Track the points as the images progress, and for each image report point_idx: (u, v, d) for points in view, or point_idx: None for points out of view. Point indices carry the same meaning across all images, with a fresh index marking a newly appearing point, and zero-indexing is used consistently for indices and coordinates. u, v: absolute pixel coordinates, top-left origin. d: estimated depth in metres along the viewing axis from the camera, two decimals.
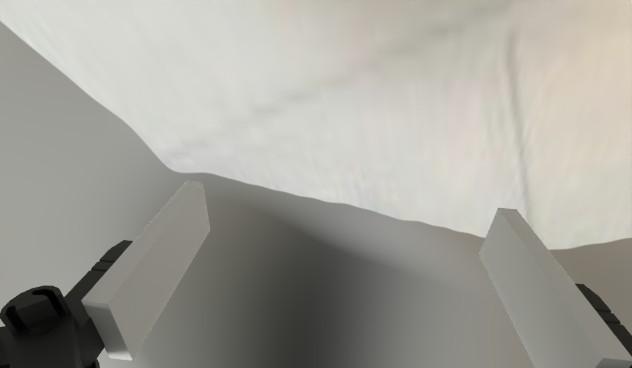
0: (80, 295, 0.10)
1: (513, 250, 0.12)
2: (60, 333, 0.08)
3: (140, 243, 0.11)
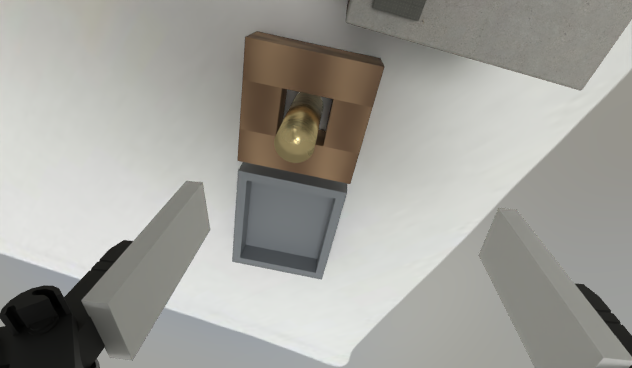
0: (80, 295, 0.10)
1: (513, 251, 0.12)
2: (60, 333, 0.08)
3: (140, 243, 0.11)
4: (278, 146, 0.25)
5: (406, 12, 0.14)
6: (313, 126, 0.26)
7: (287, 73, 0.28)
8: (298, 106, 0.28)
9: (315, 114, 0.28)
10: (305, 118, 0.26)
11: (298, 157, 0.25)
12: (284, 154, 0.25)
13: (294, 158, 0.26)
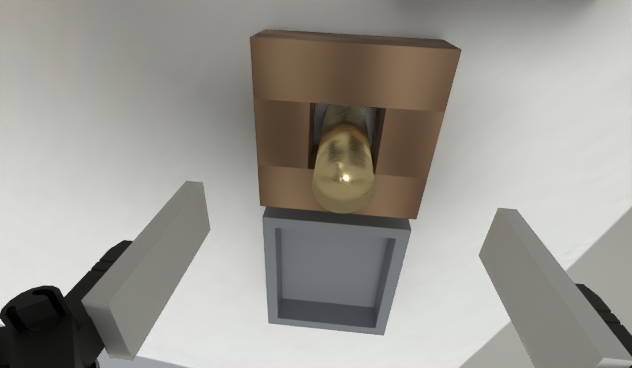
0: (80, 295, 0.10)
1: (513, 250, 0.12)
2: (60, 333, 0.08)
3: (140, 243, 0.11)
4: (318, 193, 0.16)
5: None
6: (366, 154, 0.17)
7: (315, 80, 0.19)
8: (337, 126, 0.19)
9: (363, 134, 0.19)
10: (353, 145, 0.17)
11: (350, 205, 0.17)
12: (328, 203, 0.17)
13: (344, 207, 0.17)
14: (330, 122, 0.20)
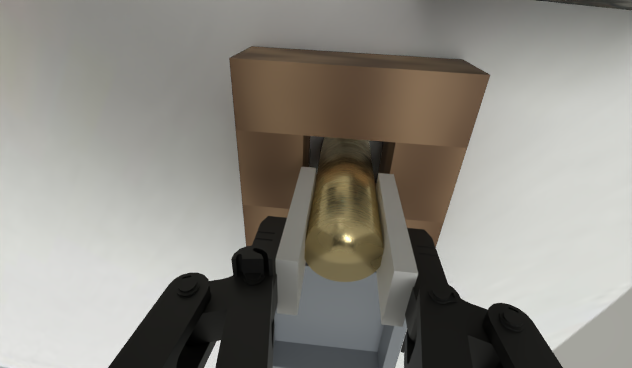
0: None
1: (379, 206, 0.14)
2: (263, 290, 0.09)
3: (294, 216, 0.12)
4: (312, 258, 0.13)
5: None
6: (373, 207, 0.14)
7: (310, 109, 0.16)
8: (336, 166, 0.16)
9: (368, 175, 0.16)
10: (356, 195, 0.13)
11: (353, 273, 0.13)
12: (324, 270, 0.13)
13: (345, 275, 0.13)
14: (328, 158, 0.17)
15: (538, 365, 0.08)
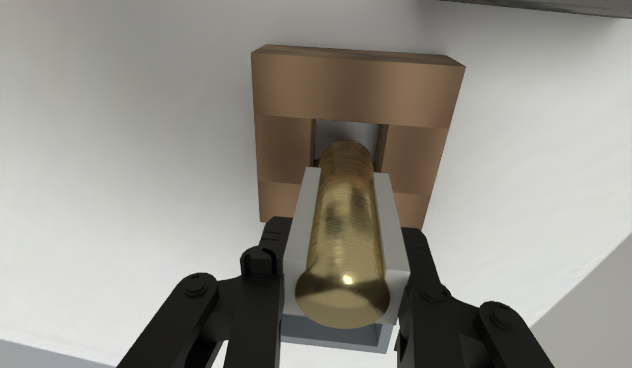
0: None
1: None
2: (271, 290, 0.09)
3: (301, 216, 0.12)
4: (305, 303, 0.11)
5: None
6: (376, 241, 0.12)
7: (317, 96, 0.19)
8: (334, 189, 0.14)
9: (370, 199, 0.14)
10: (357, 227, 0.12)
11: (353, 319, 0.11)
12: (320, 316, 0.11)
13: (344, 322, 0.11)
14: (325, 179, 0.15)
15: (528, 362, 0.08)
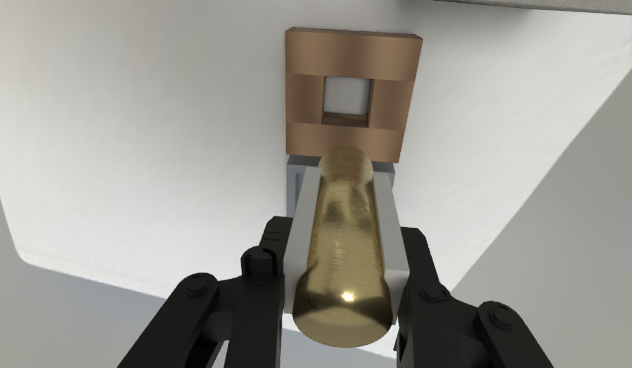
0: None
1: None
2: (271, 290, 0.09)
3: (301, 216, 0.12)
4: (303, 322, 0.10)
5: None
6: (378, 255, 0.11)
7: (328, 60, 0.29)
8: (333, 198, 0.13)
9: (371, 209, 0.13)
10: (357, 241, 0.11)
11: (354, 338, 0.11)
12: (319, 335, 0.11)
13: (344, 341, 0.11)
14: (324, 187, 0.15)
15: (528, 362, 0.08)
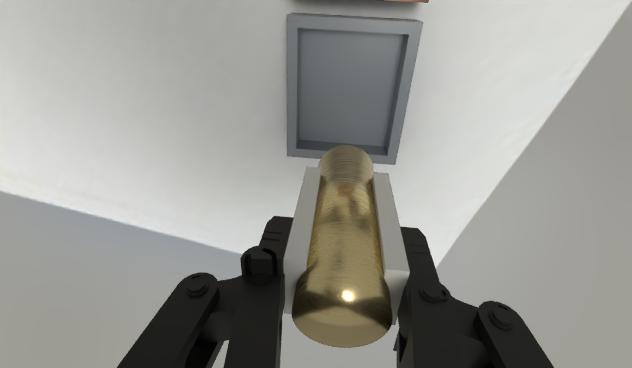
0: None
1: None
2: (272, 290, 0.09)
3: (301, 216, 0.12)
4: (303, 321, 0.10)
5: None
6: (378, 254, 0.11)
7: None
8: (333, 198, 0.13)
9: (371, 209, 0.13)
10: (357, 241, 0.11)
11: (353, 338, 0.11)
12: (318, 335, 0.11)
13: (344, 340, 0.11)
14: (324, 187, 0.15)
15: (528, 362, 0.08)
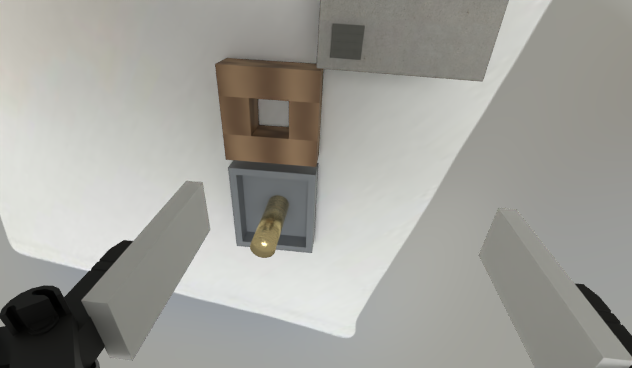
0: (80, 295, 0.10)
1: (513, 251, 0.12)
2: (60, 333, 0.08)
3: (140, 243, 0.11)
4: (253, 249, 0.40)
5: (351, 56, 0.23)
6: (274, 232, 0.41)
7: (250, 86, 0.37)
8: (266, 216, 0.43)
9: (277, 220, 0.43)
10: (268, 229, 0.41)
11: (266, 254, 0.40)
12: (257, 253, 0.40)
13: (264, 255, 0.40)
14: (265, 212, 0.44)
15: None
